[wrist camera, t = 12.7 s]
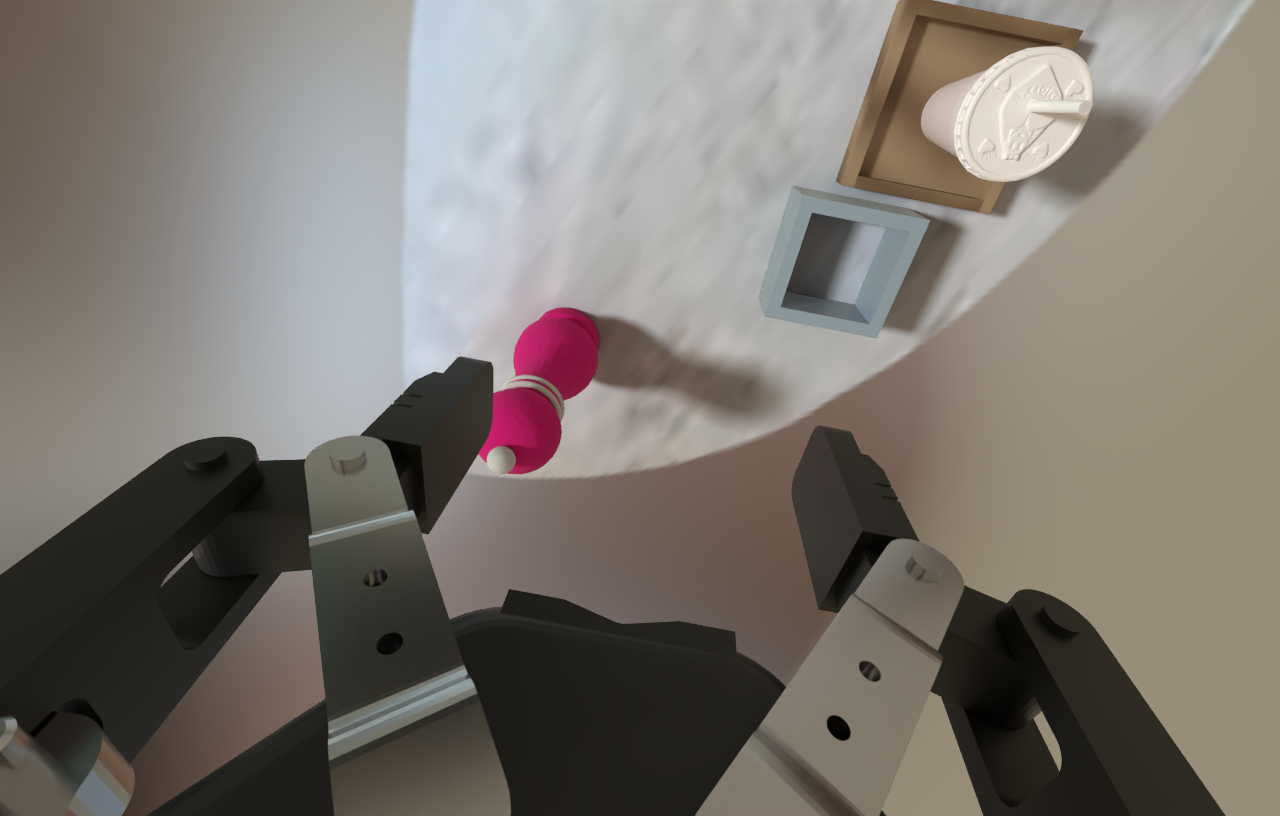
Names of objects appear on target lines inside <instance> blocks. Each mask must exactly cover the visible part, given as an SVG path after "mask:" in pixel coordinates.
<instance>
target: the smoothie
mask: <svg viewBox="0 0 1280 816" xmlns="http://www.w3.org/2000/svg"><path fill="white" fill-rule="evenodd" d="M1093 97H1094V83H1093V78H1092V74H1091V71H1090V69H1089V67H1088V65H1087V64H1086V62H1085V61H1084V60H1083V59H1082V58H1081V57H1080V56H1079V55H1078V54H1076V53H1074V52H1073V51H1071V50H1068V49H1065V48H1061V47H1051V46H1048V47H1046V46H1045V47H1033V48H1027V49H1024V50H1021V51H1018V52H1015V53H1013V54H1010V55H1008V56H1007V57H1005V58H1004V59H1002V60H1000V61H999V62H997V63H996V64H994V65H993V66H991V67H990V68H989V69H987V70H985V71H982V72H979V73H977V74H974V75H972V76H969V77H966V78H964V79H961V80H959V81H956V82H953V83H951V84H948V85H946V86H944V87H942V88H940V89H939V90H938V91H936V92H935V93H934V94H933V95H932V96H931V97H930V99H929V100H928V102H927V103H926V105H925V107H924V109H923V112H922V116H921V128H922V131H923V133H924V135H925V136H926V138H927V139H928V140H930V141H931V142H933V143H935V144H936V145H938V146H939V147H941V148H943V149H944V150H946V151H948V152H949V153H951V154H952V155H954V156H956V157H957V158H958V159H959V161H960V162H961V164H962V165H963V166H964V168H965V169H966V170H967V171H968V172H970V173H971V174H973V175H975V176H976V177H978V178H980V179H985V180H989V181H1000V182H1009V181H1016V180H1021V179H1024V178H1027V177H1030V176H1032V175H1035V174H1037V173H1039V172H1041V171H1043V170H1044V169H1046V168H1047V167H1049V166H1050V165H1052V164H1053V163H1054V162H1056V161H1057V160H1058V159H1059V158H1060V157H1061V156H1062V155H1063V154H1064V153H1066V151H1067V150H1068V149H1069V148H1070V147H1071V146H1072V145H1073V143H1074V142H1075V141H1076V139H1077V138H1078V136H1079V135H1080V133H1081V132H1082V130H1083V128H1084V126H1085V124H1086V122H1087V120H1088V117H1089V115H1090V112H1091V108H1092V104H1093Z"/></svg>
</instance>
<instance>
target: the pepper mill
mask: <svg viewBox="0 0 1280 816" xmlns="http://www.w3.org/2000/svg"><path fill="white" fill-rule="evenodd" d="M599 343H600V341H599V334H598V331H597V329H596V327H595V325H594V324H593V322H592V321H591V320H590V319H589V318H588V317H587V316H586V315H584V314H583V313H581V312H579V311H577V310H574V309H571V308H556V309H553V310H550V311H548V312H546V313H545V314H544V315H543V316H542V317H541V318H540V319H539V320H538V321H536V322H534V323H532V324H531V325H530V326H528V327H527V328H526V329H525V330H524V331H523V333H522V334H521V336H520V338H519V340H518V342H517V344H516V347H515V352H514V368H515V372H516V375H515V377H513V378H511V379H509V380H508V381H506V382H505V383H504V384H503V386H502V387H501V389H500V390H499V391H498V392H495V393H493V421H492V426H491V430H490V434H489V436H488V438H487V440H486V442H485V444H484V445H483V447H482V449H481V450H480V452H479V453H478V454H479V455H480V457H481V458H482V459H483V460H484V461H485V462H486V463H487V465H488V467H489V468H490V470H491V471H493V472H494V473H497V474H505V473H508V474H524V473H529V472H532V471H535V470H537V469H539V468H540V467H542V466H544V465H545V464H546V463H547V462H548V461H549V460H550V459H551V458H552V457H553V455H554V454H555V452H556V450H557V448H558V446H559V443H560V440H561V433H562V431H561V420H562V418H563V415H564V410H565V408H564V402H563V401H564V400H566V399H570V398H572V397H574V396H576V395H577V394H579V393H580V392H581V391H582V390H584V389H585V388H586V387H587V386H588V385H589V383H590V381H591V380H592V378H593V376H594V374H595V372H596V369H597V364H598V355H597V352H598V349H599Z"/></svg>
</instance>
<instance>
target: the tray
mask: <svg viewBox="0 0 1280 816" xmlns="http://www.w3.org/2000/svg"><path fill="white" fill-rule="evenodd" d="M1082 32H1083V30H1078V29H1073V28H1068V27H1063V26H1058V25H1053V24H1048V23H1043V22H1038V21H1033V20H1028V19H1023V18H1018V17H1013V16H1008V15H1003V14H998V13H993V12H988V11H983V10H978V9H973V8H968V7H963V6H958V5H953V4H948V3H943V2H938V1H933V0H901V1H898V3H897V6H896V9H895V11H894V14H893V17H892V20H891V23H890V26H889V29H888V32H887V35H886V38H885V40H884V43H883V46H882V49H881V52H880V55H879V58H878V61H877V64H876V66H875V69H874V72H873V75H872V78H871V81H870V84H869V87H868V90H867V92H866V95H865V98H864V101H863V104H862V107H861V110H860V113H859V116H858V118H857V121H856V124H855V127H854V130H853V133H852V136H851V139H850V142H849V145H848V147H847V150H846V153H845V156H844V159H843V162H842V165H841V168H840V171H839V173H838V176H837V179H836V182H838V183H840V184H841V185H844V186H849V187H854V188H859V189H864V190H869V191H874V192H879V193H884V194H889V195H894V196H899V197H904V198H909V199H915V200H920V201H925V202H930V203H935V204H940V205H945V206H950V207H955V208H960V209H965V210H970V211H975V212H980V213H986V214H990V212H991V210H992V208H993V206H994V204H995V202H996V200H997V198H998V196H999V194H1000V192H1001V190H1002V188H1003V186H1004V184H1005V182H1000V181H989V180H985V179H980V178H978V177H976V176H975V175H973V174H971V173H970V172H968V171H967V170H966V169H965V168H964V166H963V165H962V164H961V162H960V161H959V159H958V158H957V157H956V156H954V155H952V154H951V153H949V152H948V151H946V150H944V149H943V148H941V147H939V146H938V145H936V144H935V143H933V142H931V141H930V140H928V139H927V138H926V136H925V135H924V133H923V131H922V128H921V116H922V112H923V109H924V107H925V105H926V103H927V102H928V100H929V99H930V97H931V96H932V95H933V94H934V93H935V92H936V91H938V90H939V89H940V88H942V87H944V86H946V85H948V84H951V83H953V82H956V81H959V80H961V79H964V78H966V77H969V76H972V75H974V74H977V73H979V72H982V71H985V70H987V69H989V68H990V67H991V66H993V65H994V64H996V63H997V62H999V61H1000V60H1002V59H1004V58H1005V57H1007V56H1008V55H1010V54H1013V53H1015V52H1018V51H1021V50H1024V49H1027V48H1033V47H1045V46H1046V47H1048V46H1051V47H1061V48H1065V49H1068V50H1071V51H1073V50H1074V48H1075V46H1076V44H1077V42H1078V40H1079V38H1080V36H1081V34H1082Z"/></svg>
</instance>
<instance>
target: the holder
mask: <svg viewBox="0 0 1280 816" xmlns="http://www.w3.org/2000/svg"><path fill="white" fill-rule="evenodd" d="M812 213H817V214H822V215H827V216H832V217H837V218H842V219H847V220H852V221H857V222H862V223H867V224H872V225H877V226H883V227H887V228H886V230H885V233H884V235H883V237H882V240H881V242H880V245H879V247H878V249H877V252H876V254H875V257H874V259H873V262H872V264H871V266H870V269H869V271H868V274H867V276H866V278H865V281H864V283H863V286H862V288H861V290H860V293H859V295H858V298H857V300H856V303H855V305H852V304H847V303H842V302H837V301H832V300H827V299H822V298H817V297H812V296H807V295H801V294H796V293H791V292H786V289H787V286H788V283H789V280H790V277H791V274H792V271H793V268H794V265H795V262H796V259H797V256H798V253H799V250H800V247H801V244H802V241H803V238H804V235H805V232H806V229H807V226H808V223H809V220H810V217H811V214H812ZM930 221H931V220H929V219H927V218H925V217H923V216H921V215H919V214H917V213H915V212H913V211H912V210H910V209H907V208H902V207H897V206H892V205H887V204H882V203H877V202H872V201H867V200H861V199H856V198H851V197H846V196H841V195H836V194H831V193H826V192H821V191H816V190H811V189H806V188H801V187H796V186H792V190H791V193H790V196H789V200H788V203H787V206H786V209H785V213H784V216H783V219H782V223H781V226H780V229H779V232H778V236H777V239H776V242H775V245H774V249H773V252H772V255H771V259H770V262H769V265H768V268H767V272H766V275H765V278H764V282H763V285H762V288H761V291H760V295H759V301H760V304H761V307H762V310H763V313H764V316H765V317H770V318H775V319H780V320H785V321H791V322H796V323H801V324H806V325H811V326H816V327H821V328H826V329H831V330H837V331H842V332H847V333H852V334H857V335H862V336H867V337H872V338H877V337H878V335H879V332H880V330H881V328H882V326H883V324H884V321H885V319H886V317H887V315H888V313H889V311H890V308H891V306H892V304H893V302H894V300H895V297H896V295H897V293H898V291H899V289H900V286H901V284H902V282H903V280H904V278H905V275H906V273H907V271H908V269H909V267H910V264H911V262H912V260H913V258H914V256H915V253H916V251H917V249H918V247H919V245H920V243H921V240H922V238H923V236H924V234H925V232H926V229H927V227H928V225H929V223H930Z"/></svg>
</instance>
